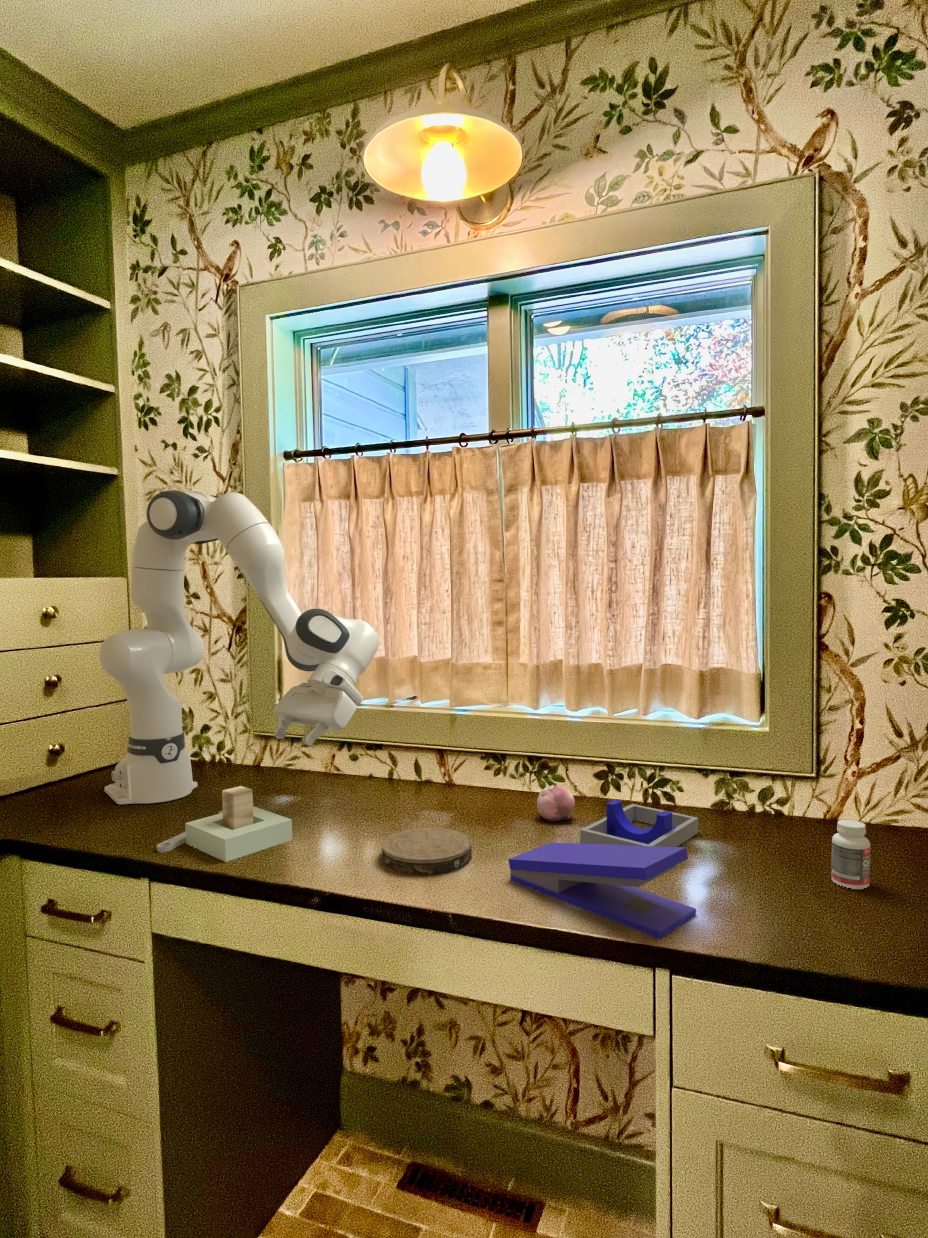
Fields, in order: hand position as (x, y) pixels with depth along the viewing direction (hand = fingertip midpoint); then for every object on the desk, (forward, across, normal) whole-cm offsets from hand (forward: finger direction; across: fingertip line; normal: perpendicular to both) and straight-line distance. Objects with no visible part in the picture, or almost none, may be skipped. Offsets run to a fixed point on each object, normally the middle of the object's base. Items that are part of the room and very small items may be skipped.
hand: (291, 740), depth 145 cm
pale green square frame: (+21, 0, +4) cm, 21 cm away
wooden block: (+21, 0, +4) cm, 21 cm away
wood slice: (+9, +33, +16) cm, 38 cm away
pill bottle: (-16, +93, +41) cm, 103 cm away
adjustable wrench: (+22, -12, +4) cm, 25 cm away
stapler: (+6, +64, +20) cm, 67 cm away
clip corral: (-14, +58, +38) cm, 71 cm away
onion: (-13, +39, +38) cm, 56 cm away
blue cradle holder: (-14, +58, +38) cm, 71 cm away
